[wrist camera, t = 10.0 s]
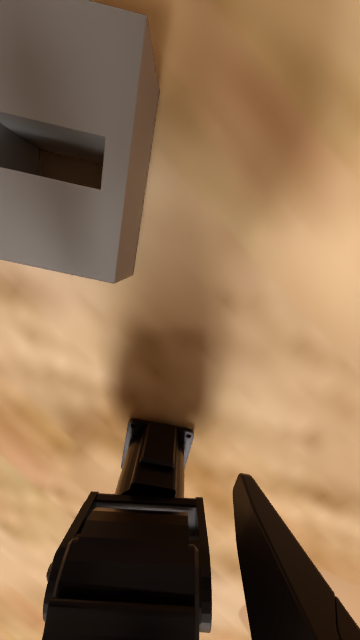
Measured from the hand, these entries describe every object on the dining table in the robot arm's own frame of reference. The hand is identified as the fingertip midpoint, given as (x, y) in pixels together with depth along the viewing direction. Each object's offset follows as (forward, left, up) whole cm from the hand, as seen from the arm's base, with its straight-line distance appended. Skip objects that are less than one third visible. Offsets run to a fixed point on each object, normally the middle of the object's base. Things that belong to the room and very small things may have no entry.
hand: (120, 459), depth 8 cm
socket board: (+11, +12, -12) cm, 20 cm away
